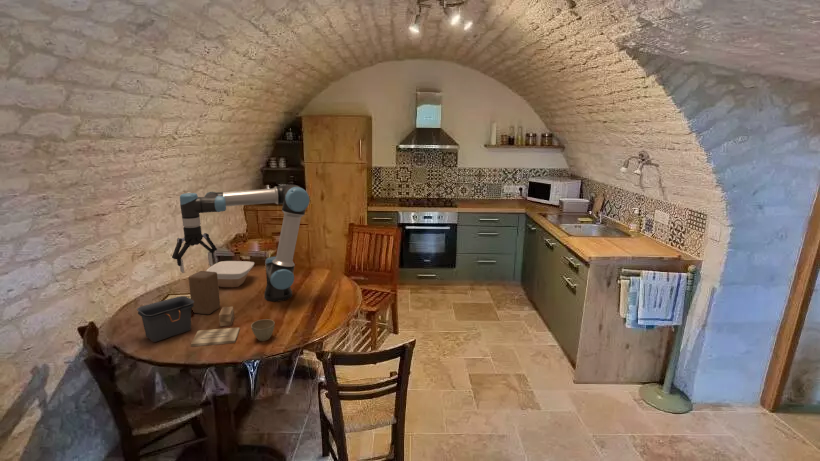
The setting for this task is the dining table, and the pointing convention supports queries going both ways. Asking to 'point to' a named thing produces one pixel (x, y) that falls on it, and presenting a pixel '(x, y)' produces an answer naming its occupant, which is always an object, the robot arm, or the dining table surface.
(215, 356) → the dining table surface
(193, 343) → the board
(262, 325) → the flower pot
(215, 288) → the wooden block
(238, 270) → the bowl
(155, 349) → the dining table surface
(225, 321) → the block
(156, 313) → the storage bin
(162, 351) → the dining table surface
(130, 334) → the dining table surface
